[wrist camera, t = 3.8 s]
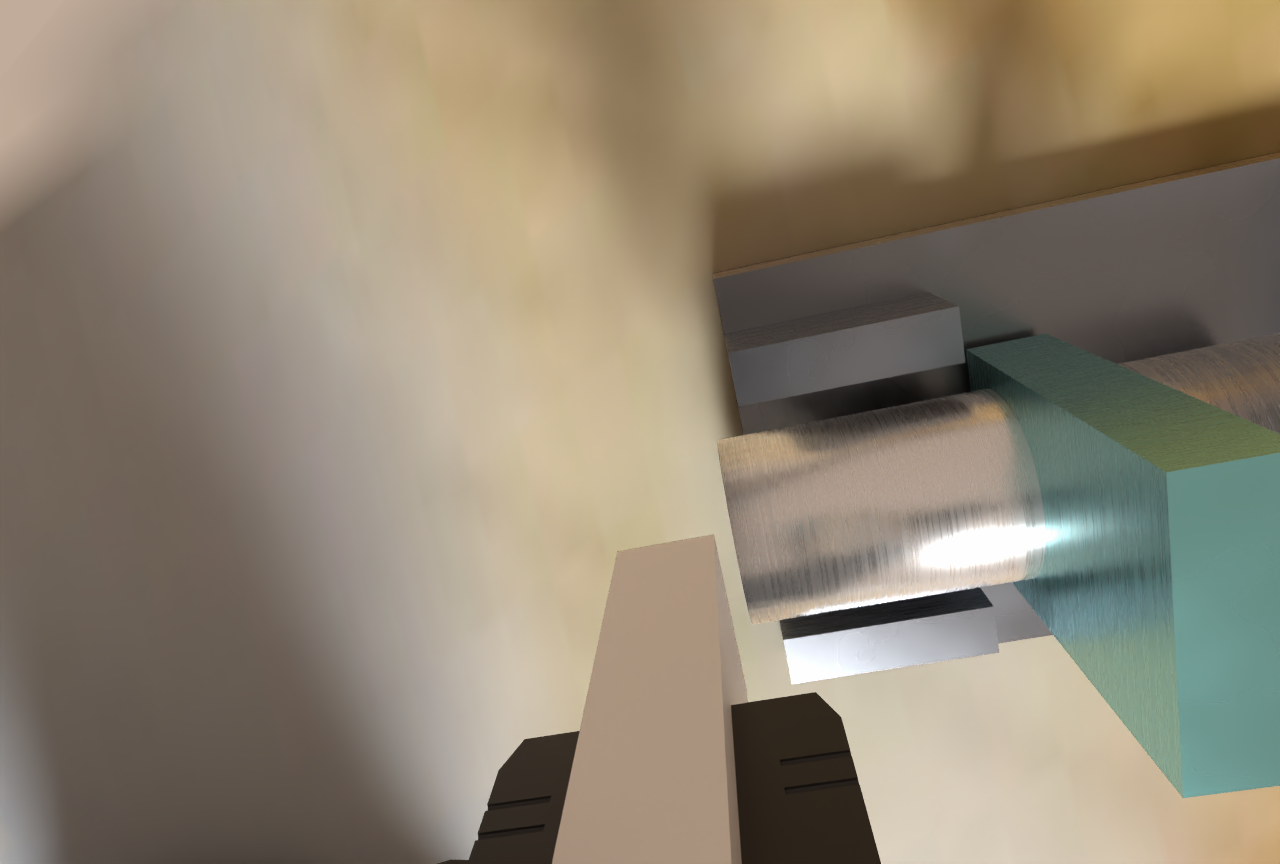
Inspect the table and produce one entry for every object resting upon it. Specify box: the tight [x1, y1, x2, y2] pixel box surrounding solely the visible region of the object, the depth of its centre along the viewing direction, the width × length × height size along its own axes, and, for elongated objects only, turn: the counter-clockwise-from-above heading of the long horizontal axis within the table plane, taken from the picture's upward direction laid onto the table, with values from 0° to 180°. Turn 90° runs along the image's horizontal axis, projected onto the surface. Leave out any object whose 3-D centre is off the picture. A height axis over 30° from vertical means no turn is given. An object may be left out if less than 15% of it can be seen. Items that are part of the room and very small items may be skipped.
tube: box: [717, 333, 1280, 798], centre depth 13 cm, size 10×4×7 cm, turn 102°
